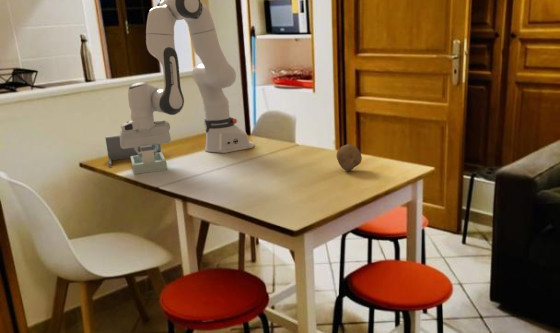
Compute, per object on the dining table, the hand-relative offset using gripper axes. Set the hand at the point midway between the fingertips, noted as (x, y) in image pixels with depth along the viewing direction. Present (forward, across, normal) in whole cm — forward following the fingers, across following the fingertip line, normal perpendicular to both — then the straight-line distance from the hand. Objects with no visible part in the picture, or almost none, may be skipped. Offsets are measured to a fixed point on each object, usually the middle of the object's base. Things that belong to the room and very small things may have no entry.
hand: (147, 156), depth 214 cm
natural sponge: (+5, -68, +48) cm, 83 cm away
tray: (+5, 0, 0) cm, 5 cm away
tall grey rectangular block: (+2, 0, 0) cm, 2 cm away
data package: (+5, -3, -28) cm, 29 cm away
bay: (+5, +9, -16) cm, 18 cm away
